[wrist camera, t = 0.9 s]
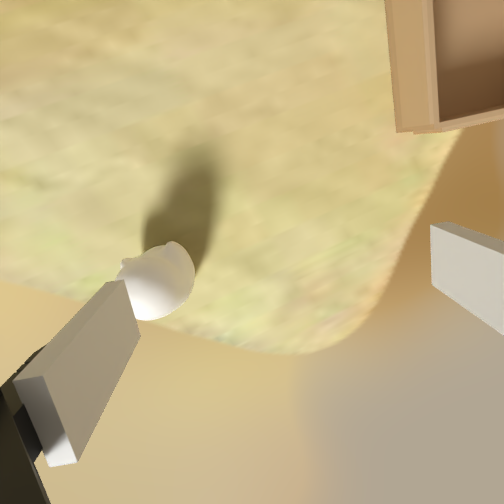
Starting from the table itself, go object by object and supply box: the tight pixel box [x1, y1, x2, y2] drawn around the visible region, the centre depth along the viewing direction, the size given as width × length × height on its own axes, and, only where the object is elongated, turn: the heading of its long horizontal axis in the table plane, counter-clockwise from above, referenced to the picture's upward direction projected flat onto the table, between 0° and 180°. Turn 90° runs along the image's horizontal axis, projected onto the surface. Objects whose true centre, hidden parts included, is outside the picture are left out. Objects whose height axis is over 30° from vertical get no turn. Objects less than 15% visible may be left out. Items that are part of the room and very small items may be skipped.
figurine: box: [115, 241, 195, 320], centre depth 38 cm, size 7×8×12 cm
